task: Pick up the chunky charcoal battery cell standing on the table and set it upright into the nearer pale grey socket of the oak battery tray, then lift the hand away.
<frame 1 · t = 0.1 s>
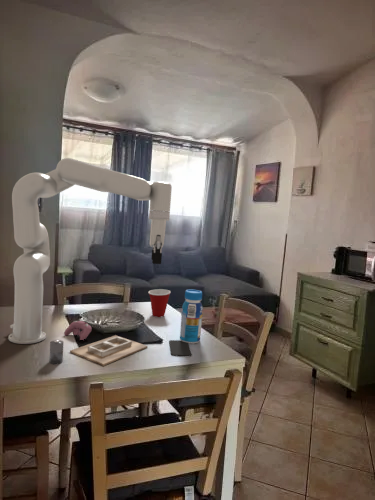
hand: (156, 261, 139), 31 cm above the table, tool pointing down, fingers open, 9 cm apart
battery tray: (110, 349, 132), on the table
video game controller: (77, 337, 142), on the table
beverage bottle: (189, 340, 148), on the table
plastic cup: (157, 315, 179), on the table
phone: (179, 349, 139), on the table
battery cell: (55, 361, 119), on the table
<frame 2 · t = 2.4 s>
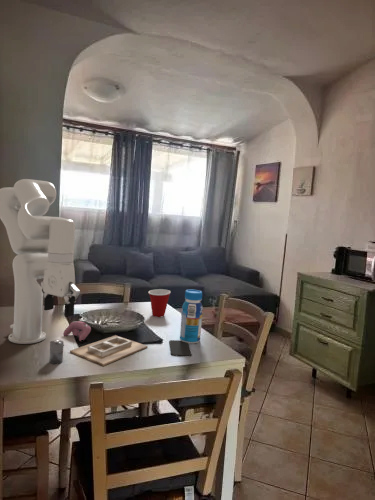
hand: (58, 312, 117), 16 cm above the table, tool pointing down, fingers open, 9 cm apart
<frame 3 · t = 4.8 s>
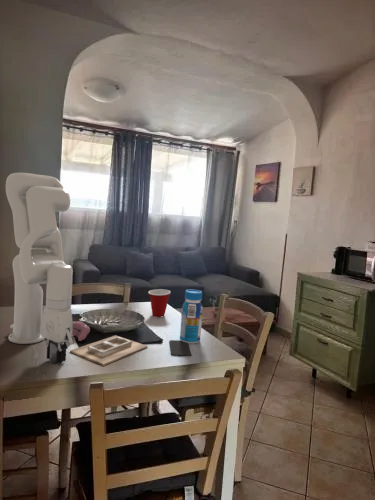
hand: (56, 359, 118), 1 cm above the table, tool pointing down, fingers closed on battery cell, 4 cm apart
battery cell: (56, 361, 118), on the table, touching gripper
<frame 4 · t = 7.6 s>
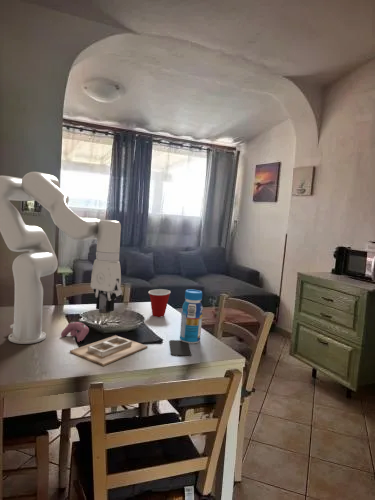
hand: (104, 309, 127), 15 cm above the table, tool pointing down, fingers closed on battery cell, 4 cm apart
battery cell: (104, 311, 127), point 15 cm above the table, touching gripper
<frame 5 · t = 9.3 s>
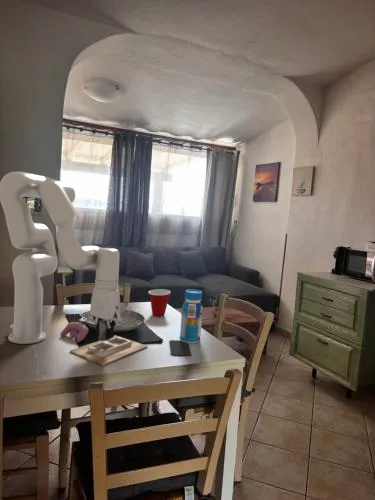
hand: (104, 336, 128), 6 cm above the table, tool pointing down, fingers closed on battery cell, 4 cm apart
battery cell: (104, 338, 128), point 5 cm above the table, touching gripper
when the fingers open (3 cm above the table, at t = 10.6 s): battery cell drops 1 cm, resting on battery tray.
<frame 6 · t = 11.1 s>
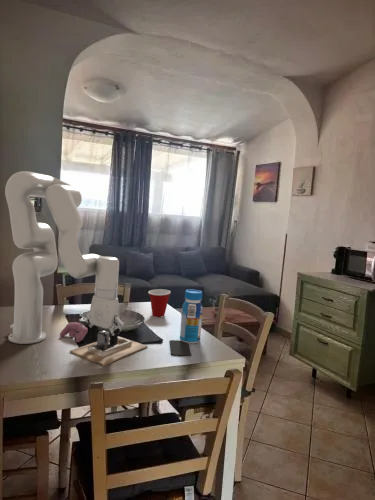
hand: (103, 342, 128), 4 cm above the table, tool pointing down, fingers open, 9 cm apart
battery cell: (102, 350, 129), point 1 cm above the table, touching battery tray
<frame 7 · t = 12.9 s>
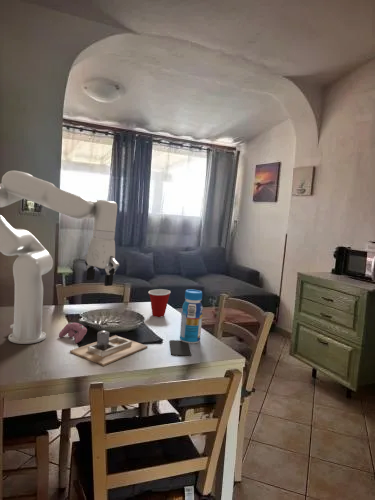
hand: (99, 282, 134), 23 cm above the table, tool pointing down, fingers open, 9 cm apart
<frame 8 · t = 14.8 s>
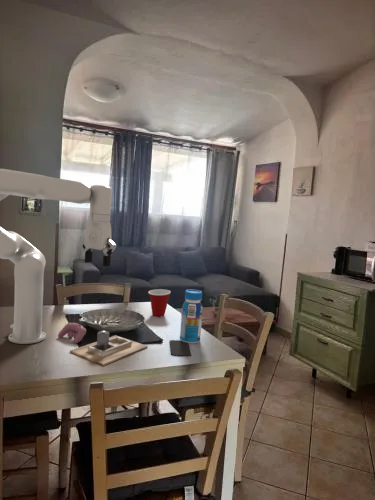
hand: (97, 264, 141), 28 cm above the table, tool pointing down, fingers open, 9 cm apart
at the end: battery cell 0.1 cm from the target spot on the battery tray, point 0.6 cm above the battery tray's base; battery cell tilted 0°; the gripper is holding nothing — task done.
